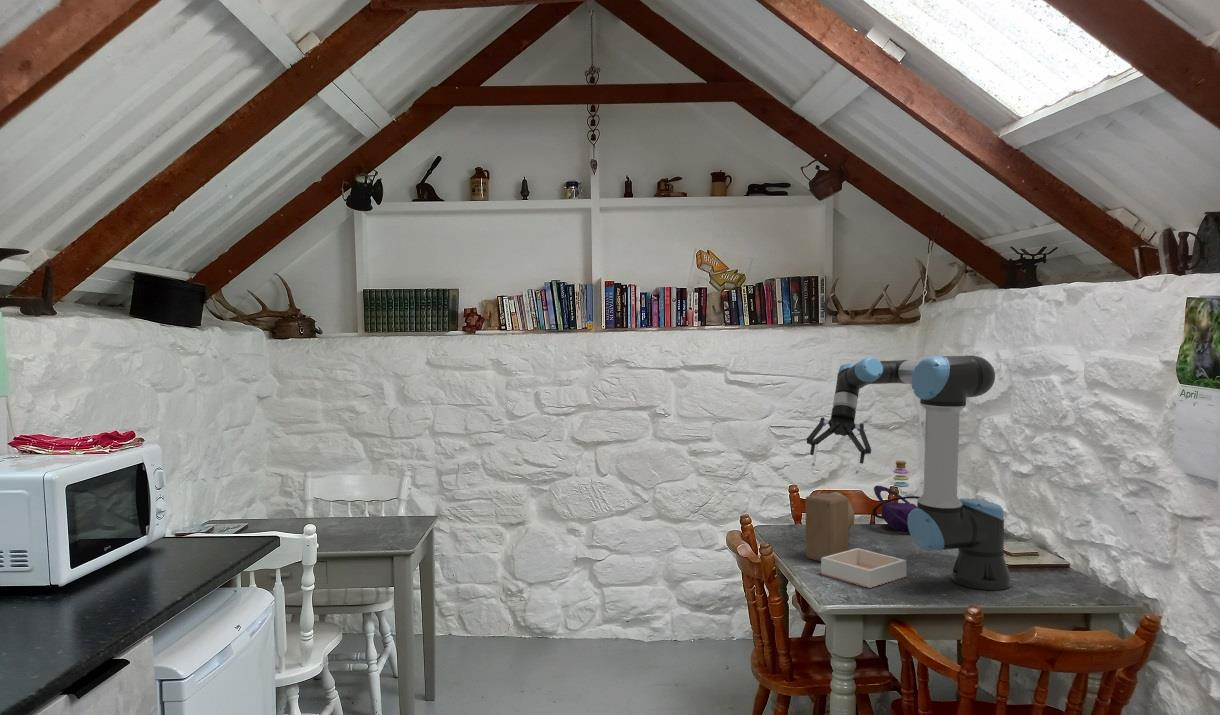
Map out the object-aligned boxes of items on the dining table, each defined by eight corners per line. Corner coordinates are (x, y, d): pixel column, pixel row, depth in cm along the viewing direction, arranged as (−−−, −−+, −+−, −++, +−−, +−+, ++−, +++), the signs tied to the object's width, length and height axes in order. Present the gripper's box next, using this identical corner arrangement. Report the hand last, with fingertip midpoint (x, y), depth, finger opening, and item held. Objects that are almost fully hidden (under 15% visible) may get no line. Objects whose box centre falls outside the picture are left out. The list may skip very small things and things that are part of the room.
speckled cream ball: (810, 533, 276) (809, 492, 276) (832, 528, 284) (831, 487, 283) (840, 540, 266) (839, 497, 266) (862, 534, 274) (861, 492, 273)
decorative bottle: (926, 539, 265) (926, 467, 265) (864, 532, 276) (863, 463, 276) (936, 525, 285) (936, 458, 284) (878, 519, 295) (877, 455, 295)
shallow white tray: (906, 577, 224) (906, 560, 224) (870, 588, 214) (870, 571, 214) (857, 564, 238) (857, 548, 238) (821, 574, 228) (821, 557, 228)
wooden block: (831, 565, 237) (830, 500, 237) (804, 558, 245) (804, 496, 245) (850, 559, 244) (849, 496, 243) (823, 552, 252) (822, 491, 251)
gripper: (883, 419, 254) (874, 479, 246) (806, 407, 262) (795, 465, 254) (884, 409, 248) (876, 471, 239) (805, 398, 256) (795, 457, 247)
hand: (834, 468), depth 246 cm, fingers open, 13 cm apart
